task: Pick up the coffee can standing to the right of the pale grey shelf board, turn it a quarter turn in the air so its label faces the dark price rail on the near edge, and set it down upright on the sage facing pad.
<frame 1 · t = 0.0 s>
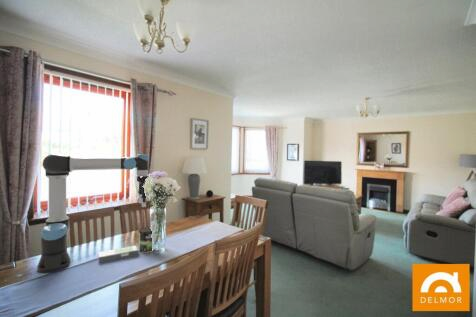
hand: (142, 204, 172), 28 cm above the table, fingers open, 13 cm apart
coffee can: (146, 250, 161), on the table
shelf: (118, 254, 153), on the table
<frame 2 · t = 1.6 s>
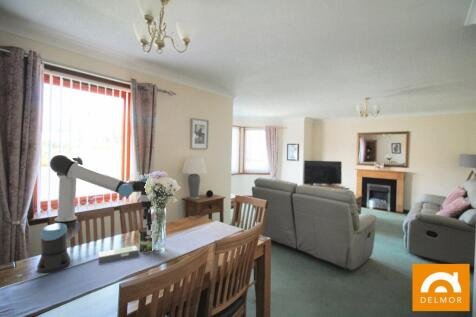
hand: (147, 231, 161), 13 cm above the table, fingers open, 13 cm apart
nothing on the table moved.
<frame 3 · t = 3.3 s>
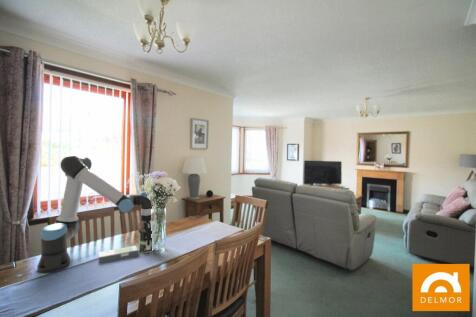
hand: (146, 246, 161), 2 cm above the table, fingers closed on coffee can, 10 cm apart
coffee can: (146, 250, 161), on the table, touching gripper
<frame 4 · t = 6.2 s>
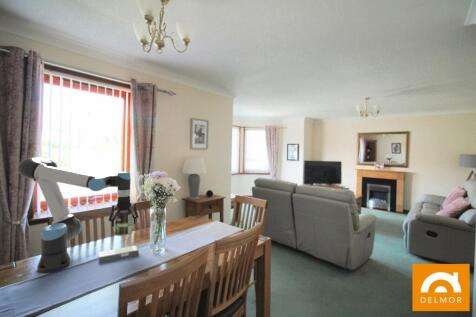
hand: (123, 229, 154), 16 cm above the table, fingers closed on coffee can, 10 cm apart
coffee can: (123, 233, 154), point 13 cm above the table, touching gripper
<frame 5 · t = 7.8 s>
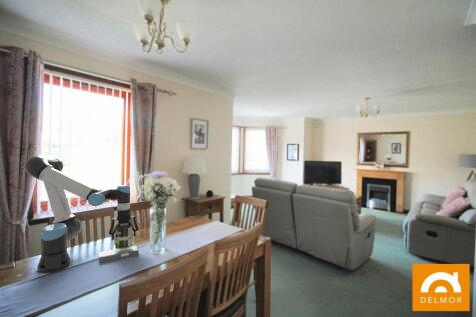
hand: (123, 242, 154), 7 cm above the table, fingers closed on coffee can, 10 cm apart
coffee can: (124, 246, 155), point 5 cm above the table, touching gripper
when the fingers open (6 cm above the table, at t = 9.1 s): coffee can drops 1 cm, resting on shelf.
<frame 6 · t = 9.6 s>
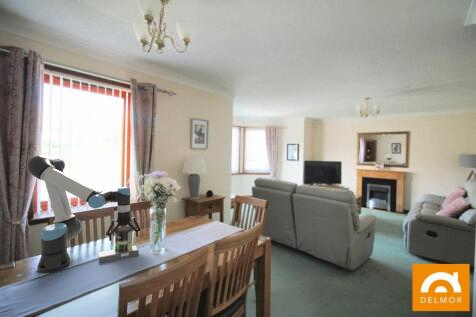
hand: (123, 243, 154), 7 cm above the table, fingers open, 13 cm apart
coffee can: (123, 250, 155), point 2 cm above the table, touching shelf
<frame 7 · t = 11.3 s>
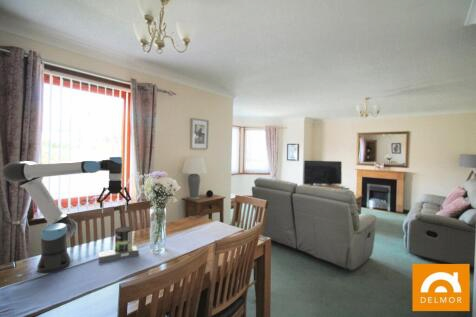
hand: (114, 211, 157), 27 cm above the table, fingers open, 13 cm apart
nothing on the table moved.
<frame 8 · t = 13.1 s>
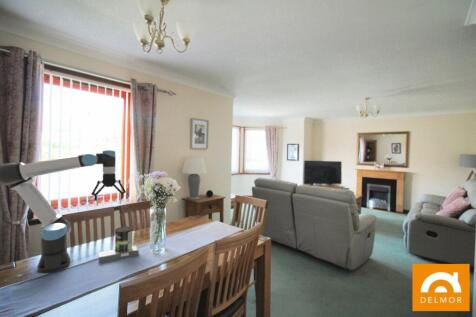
hand: (109, 204, 160), 31 cm above the table, fingers open, 13 cm apart
nothing on the table moved.
at the end: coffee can inside the target area on the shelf (0.0 cm from its centre), point 2.0 cm above the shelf's base; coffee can tilted 0°; the gripper is holding nothing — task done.
